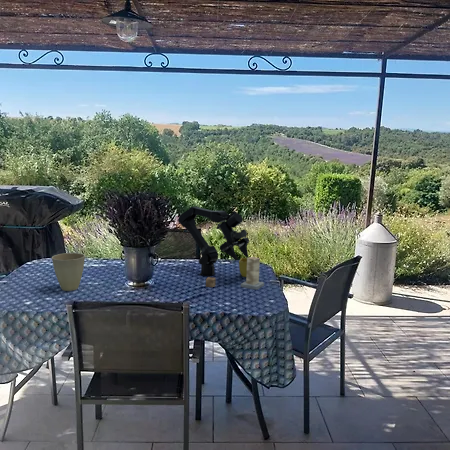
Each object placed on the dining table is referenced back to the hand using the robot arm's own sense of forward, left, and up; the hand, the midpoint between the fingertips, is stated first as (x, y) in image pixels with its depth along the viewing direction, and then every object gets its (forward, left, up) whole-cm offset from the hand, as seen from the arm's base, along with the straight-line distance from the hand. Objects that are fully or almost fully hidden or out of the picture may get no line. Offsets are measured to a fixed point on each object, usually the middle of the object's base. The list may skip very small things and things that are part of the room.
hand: (242, 258), depth 232 cm
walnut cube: (-11, -13, -13) cm, 22 cm away
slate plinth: (+7, -2, -13) cm, 15 cm away
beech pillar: (+7, -2, -11) cm, 14 cm away
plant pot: (-66, -53, -13) cm, 86 cm away
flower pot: (-3, +14, -13) cm, 19 cm away
